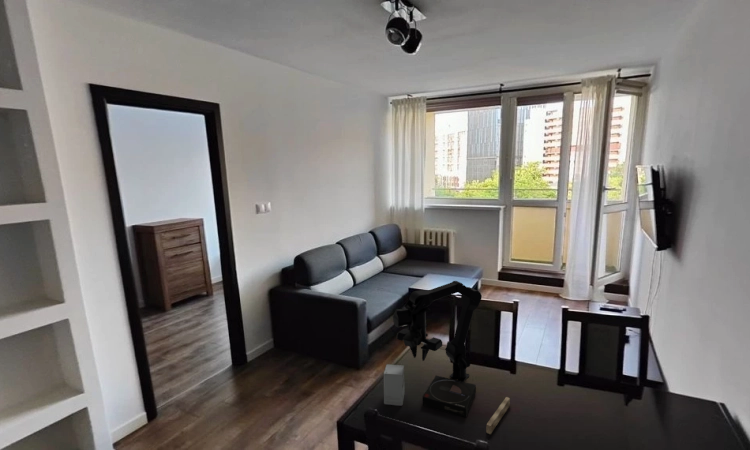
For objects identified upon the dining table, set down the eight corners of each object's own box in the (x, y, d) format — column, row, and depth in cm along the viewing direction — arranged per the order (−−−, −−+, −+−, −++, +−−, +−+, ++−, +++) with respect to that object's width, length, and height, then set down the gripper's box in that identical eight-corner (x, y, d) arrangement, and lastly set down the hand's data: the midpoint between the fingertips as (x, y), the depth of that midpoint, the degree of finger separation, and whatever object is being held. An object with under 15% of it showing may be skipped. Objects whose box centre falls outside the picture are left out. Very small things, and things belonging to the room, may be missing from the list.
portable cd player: (475, 393, 141) (476, 384, 140) (465, 419, 126) (465, 408, 125) (436, 383, 149) (436, 374, 148) (422, 406, 134) (422, 396, 133)
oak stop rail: (506, 404, 133) (506, 396, 132) (509, 405, 132) (509, 398, 131) (486, 432, 118) (486, 424, 118) (490, 434, 117) (490, 426, 117)
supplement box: (402, 406, 133) (402, 375, 132) (383, 404, 135) (382, 373, 133) (405, 394, 140) (404, 365, 139) (386, 393, 142) (386, 363, 140)
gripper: (388, 323, 142) (389, 360, 144) (428, 335, 131) (428, 374, 133) (404, 315, 151) (404, 349, 153) (442, 325, 139) (443, 362, 141)
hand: (419, 358), depth 145 cm, fingers open, 4 cm apart
